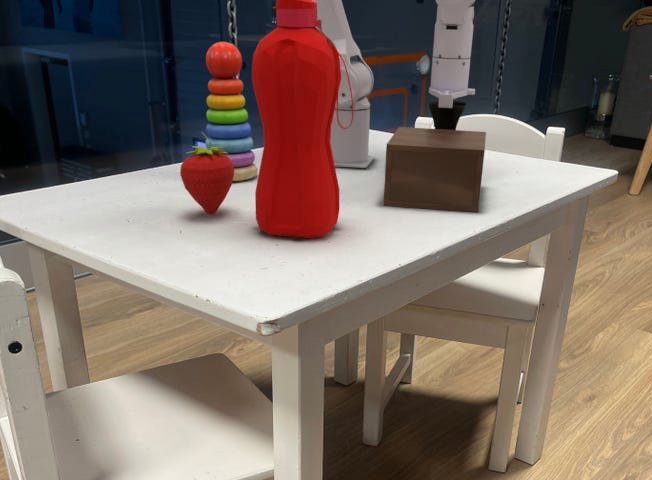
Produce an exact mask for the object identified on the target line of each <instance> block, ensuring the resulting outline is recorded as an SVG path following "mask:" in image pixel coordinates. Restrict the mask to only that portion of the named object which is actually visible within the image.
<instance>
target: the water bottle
mask: <svg viewBox="0 0 652 480" xmlns="http://www.w3.org/2000/svg"><path fill="white" fill-rule="evenodd" d="M272 9H276V10H275V11H276V28H274V29H273V30H272V31H270V32H269V33H268V34H266V35H265V36H264V37H263V38H261V39H260V40H259V41H258V44H257V46H256V48H255V50H254V52H253V55H252V63H251V65H252V66H251V83H252V87H253V91H254V94H255V100H256V103H257V109H258V111H259V116H260V120H261V124H262V131H263V150H262V155H261V161H260V165H259V171H258V175H257V180H256V181H257V182H256V187H255V192H254V193H255V194H254V195H255V199H254V201H255V220H256V223H257V226H258V229H259V230H261V231H262V232H264V233H266V234H268V235H270V236H283V237H293V238H294V237H295V238H301V239H302V238H303V239H314V238H321V237H324V236H326V235H327V234H328V233H330V232H331V231H332V230H333V228H334V226H336V225H337V224H338V220H339V215H340V185H339V181H338V175H337V169H336V166H335V164H334V159H333V154H332V148H331V143H330V140H331V125H332V120H333V115H334V110H335V106H336V101H337V120H338V123H339V125H340V127H341V128H343V129H347V128H349V127H350V126H351V124H352V121H353V98H352V91H351V85H350V80H349V76H348V72H347V68H346V64H345V62H344V59H343V58H342V56H341V55H340V53H339V52H338V51H337V48H336V46H335V45H334V43H333V42H332V40H331V39H330V38H328V37H327V36H326V35H325V34H324V33H323V32H322V20H318V21H317V2H315V1H312V0H275V6H273V7H272ZM316 27H318V29H320V30H318V29H317V28H316ZM339 56H340V57H341V59H342V60H343V63H344V66H345V69H346V73H347V78H348V82H349V87H350V93H351V101H352V120H351V123H350V125H349V127H347V128H344V127H342V126H341V124H340V122H339V119H338V91H339V87H340V82H341V69H340V59H339Z"/></svg>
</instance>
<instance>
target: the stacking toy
mask: <svg viewBox="0 0 652 480" xmlns="http://www.w3.org/2000/svg"><path fill="white" fill-rule="evenodd" d="M205 65H206V67H207V70H208V72H209V73H210V74H211V75H212V76H213V78H211V79H210V80H209V81H208V83H207V89H208V91H209V92H210V93H211V94H209V95H208V96H207V97H206V105H207V106H208V107H209V108H208V109H207V111H206V115H205V116H206V119H207V121H208V122H207V124H206V127H205V132H206V134H207V135H208V136H207V138H208V139H209V140H210V142H211V143H210V142H209V140H208V139H207V138H206V139H205V148H209V143H210V148H211V147H224V148H223V149H219V150H223V151H225V152H227V153H229V154H223V155H226V156H228V157H229V158H230V159H231V161H232V162H233V166H234V170H235V171H234V176H233V181H232V182H241V181H248V180H250V179H253V178H254V177H255V176H256V175H257V174H258V167H257V165H256V163H254V162H255V159H256V155H255V153H254V151H253V150H252V148H253V147H254V140H253V138H252V137H251V136H250V134H251V133H252V127H251V124H250V123H248V122H247V120H248V118H249V113H248V111H247V109H245V108H244V106H245V105H246V98H245V96H244V95H243V94H241V93H242V92H243V91H244V83H243V81H242V80H241V79H239V78H237V76H238V75H239V74H240V72H241V69H242V67H243V58H242V54H241V52H240V50H239V49H238V47H236V45H234V44H233V43H230V42H228V41H219V42H216V43H213V44H212V45H210V47H209V48H208V49H207V52H206V55H205ZM210 148H209V149H210Z"/></svg>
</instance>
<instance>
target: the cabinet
mask: <svg viewBox="0 0 652 480" xmlns="http://www.w3.org/2000/svg"><path fill="white" fill-rule="evenodd" d="M486 137H487V131H479V130H477V131H476V130H460V129H456V130H444V129H435V128H427V127H425V128H423V127H409V126H408V127H406V126H398V128H397V130H395V132H394V133H393V135H391V138H390V139H388V141H387V143H386V149H385V166H384V167H385V170H384V189H383V190H384V191H383V206H385V207H397V208H398V207H401V208H412V209H426V210H427V209H428V210H438V211H439V210H440V211H454V212H464V213H465V212H466V213H479V208H480V207H479V206H480V197H481V190H482V189H481V187H482V180H483V179H482V178H483V168H484V161H485V151H486V139H487V138H486Z"/></svg>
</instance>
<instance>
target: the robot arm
mask: <svg viewBox="0 0 652 480" xmlns="http://www.w3.org/2000/svg"><path fill="white" fill-rule="evenodd" d="M312 1H315V2H317V21H318V20H322V32H323V33H324V34H325V35H326V36H327V37H328V38H330V39H331V40H332V42H333V43H334V45H335V46H336V48H337V51H338V52H339V53H340V55H341V56H342V58H343V59H344V62H345V64H346V68H347V72H348V76H349V80H350V85H351V91H352V98H353V121H352V124H351V126H350V127H349V125H350V123H351V120H352V101H351V93H350V87H349V82H348V78H347V73H346V69H345V66H344V63H343V60H342V59H341V57H340V56H339V59H340V69H341V82H340V87H339V91H338V119H339V122H340V124H341V126H342V127H344V128H347V127H349V128H347V129H343V128H341V127H340V125H339V123H338V120H337V101H336V106H335V110H334V115H333V120H332V125H331V140H330V143H331V148H332V154H333V159H334V164H335V167H343V168H357V169H367V168H368V167H369V165H370V164H371V163H372V161H373V160H374V155H369V151H370V150H369V147H370V119H371V118H370V117H371V103H370V102H369V99H368V96H369V95H370V94H371V92H372V91H373V87H374V81H375V80H374V79H375V78H374V74H373V71H372V69H371V68H370V66H369V65H368V64H367V63H366V62H365V60H364V59H363V57H362V56H363V55H362V53H361V50H360V48H359V46H358V45H357V43H356V42H355V40H354V38H353V35H352V32H351V29H350V25H349V21H348V19H347V18H348V17H347V15H346V12H345V8H344V4H343V2H342V0H312ZM475 2H476V0H435V3H436V4H437V8H436V9H437V10H436V22H435V24H434V35H433V47H432V60H431V61H432V62H431V73H430V74H431V76H430V86H429V87H428V93H429V94H430V95H432V96H434V97H436V98H438V100H436V101H435V100H433V101H429V102H428V109H429V111H430V114H431V116H432V120H433V125H434V126H433V127H434V129H444V130H457V126H458V123H459V120H460V118H461V116H462V115H463V113H464V111H465V109H466V106H467V102H466V101H464V100H457V99H458V98H461V97H466V96H468V95H469V96H474V95H475V94H476V89H475V88H469V79H470V78H469V77H470V68H471V57H472V47H473V35H474V23H473V21H474V18H475V7H474V6H472V5H474V3H475ZM316 28H317V29H318V27H316ZM318 30H320V29H318Z"/></svg>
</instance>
